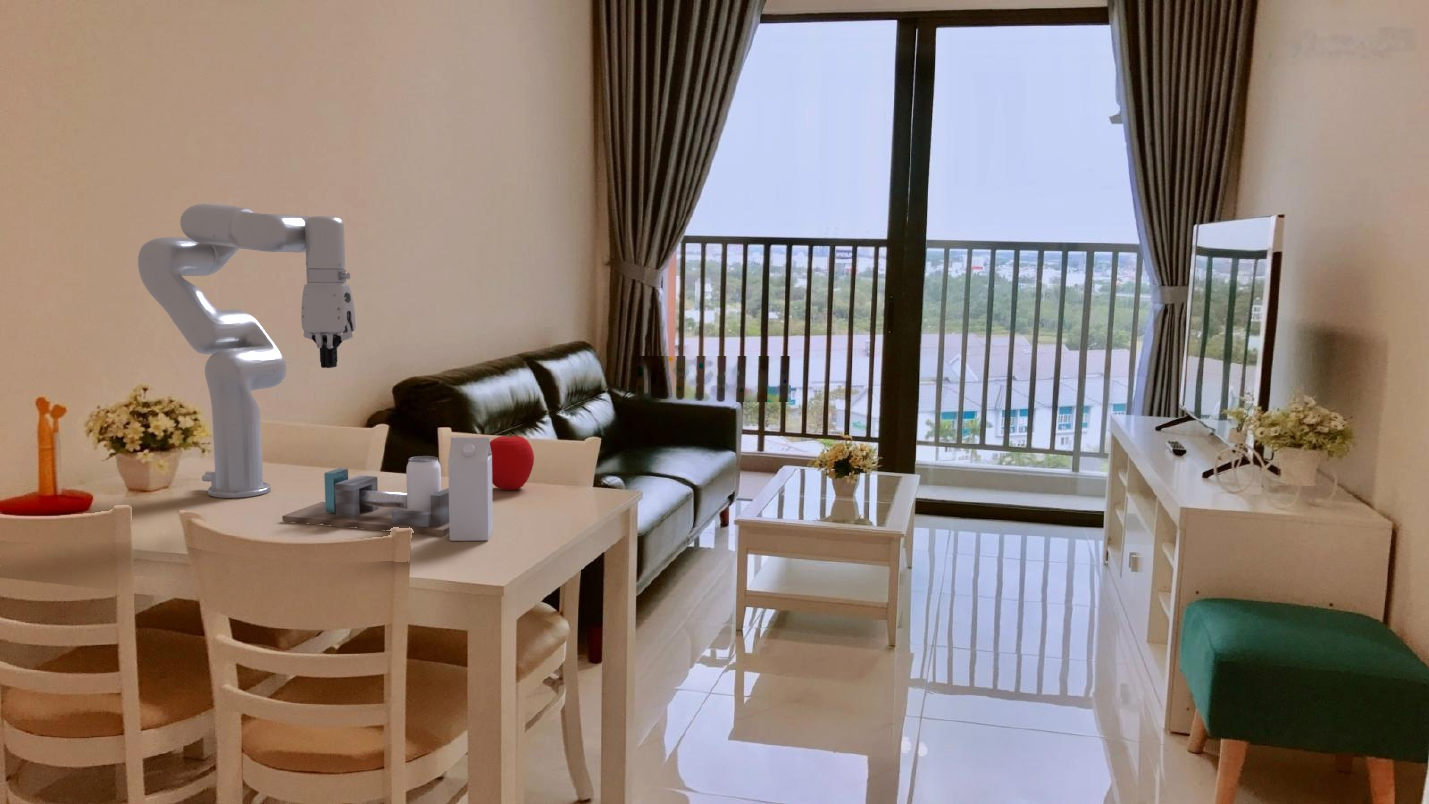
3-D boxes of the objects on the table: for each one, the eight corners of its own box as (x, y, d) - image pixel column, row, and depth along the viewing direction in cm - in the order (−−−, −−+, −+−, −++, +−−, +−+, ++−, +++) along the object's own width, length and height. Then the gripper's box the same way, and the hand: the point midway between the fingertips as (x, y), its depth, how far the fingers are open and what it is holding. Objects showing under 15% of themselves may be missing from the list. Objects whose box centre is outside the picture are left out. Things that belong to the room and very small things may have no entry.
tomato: (498, 496, 239) (498, 439, 238) (476, 488, 248) (475, 432, 246) (543, 490, 246) (543, 434, 245) (520, 482, 255) (519, 428, 253)
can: (432, 523, 210) (431, 462, 208) (401, 521, 211) (400, 460, 210) (447, 516, 216) (446, 456, 215) (416, 514, 217) (415, 454, 216)
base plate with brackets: (282, 521, 214) (280, 482, 213) (322, 507, 227) (320, 470, 226) (443, 536, 206) (443, 495, 205) (475, 520, 218) (475, 481, 217)
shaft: (325, 512, 216) (324, 472, 215) (340, 506, 221) (339, 468, 220) (402, 518, 212) (401, 478, 211) (415, 512, 217) (414, 473, 216)
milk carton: (455, 531, 209) (453, 434, 207) (492, 531, 210) (491, 434, 207) (449, 541, 202) (447, 440, 200) (488, 541, 203) (487, 440, 200)
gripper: (368, 278, 224) (371, 367, 227) (305, 276, 228) (308, 364, 231) (347, 279, 217) (350, 370, 220) (282, 277, 221) (286, 367, 223)
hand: (328, 367), depth 225 cm, fingers closed
